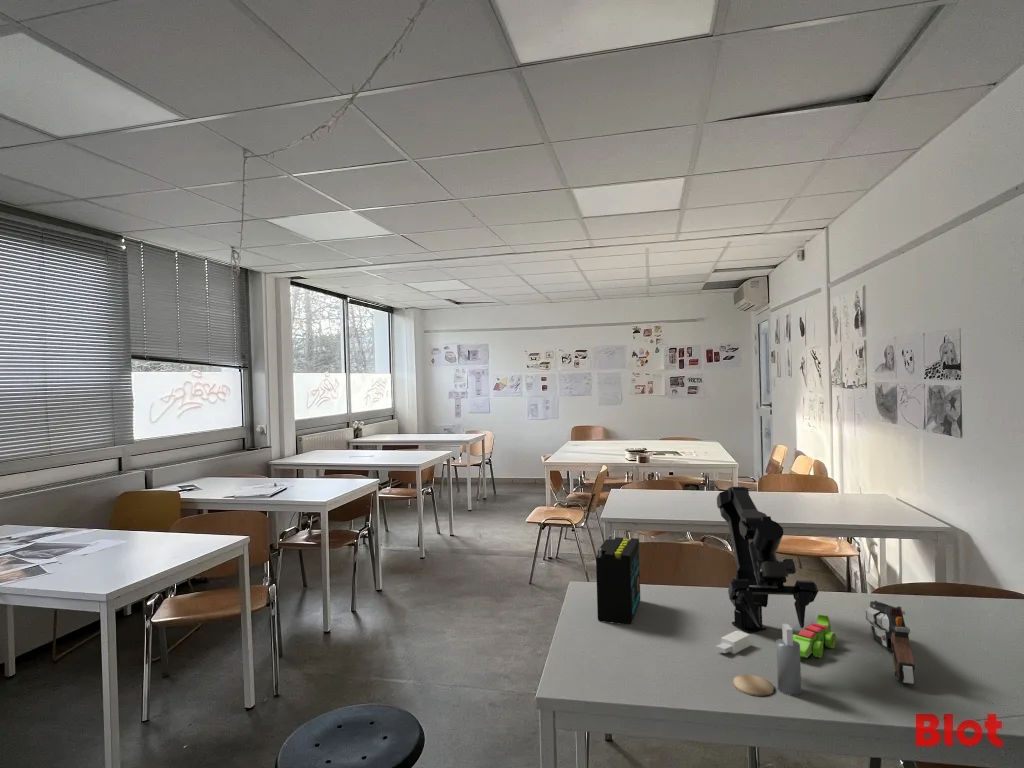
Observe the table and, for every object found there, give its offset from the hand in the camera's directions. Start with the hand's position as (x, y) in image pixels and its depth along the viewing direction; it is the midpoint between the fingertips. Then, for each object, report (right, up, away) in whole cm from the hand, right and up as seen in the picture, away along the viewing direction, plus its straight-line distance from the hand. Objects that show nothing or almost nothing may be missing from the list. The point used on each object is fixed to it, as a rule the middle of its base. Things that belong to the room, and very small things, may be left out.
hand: (780, 626), depth 129 cm
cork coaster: (-7, -12, -3) cm, 14 cm away
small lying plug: (-5, -12, +15) cm, 20 cm away
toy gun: (+30, -11, +8) cm, 33 cm away
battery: (-28, -13, +42) cm, 52 cm away
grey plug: (0, -11, -5) cm, 13 cm away
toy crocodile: (+15, -12, +14) cm, 23 cm away
